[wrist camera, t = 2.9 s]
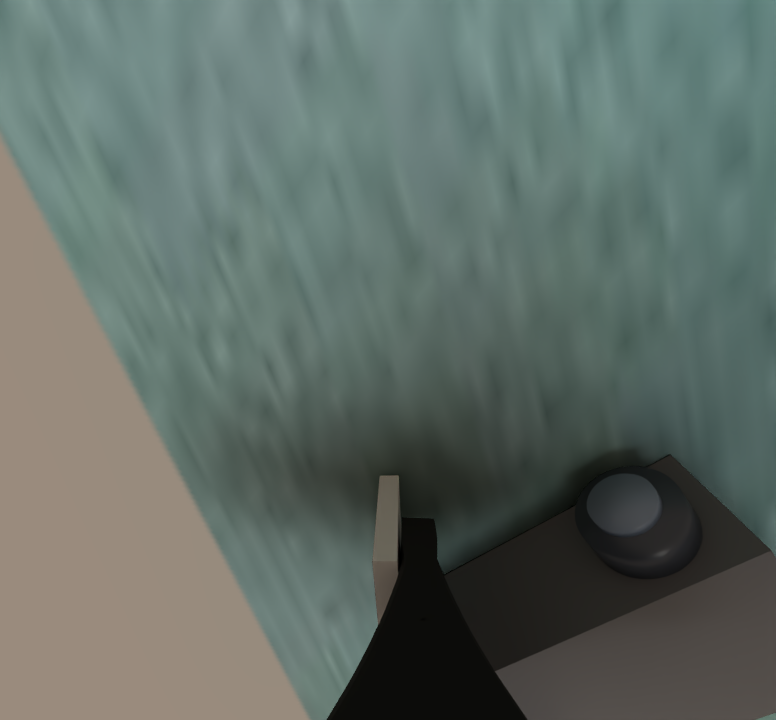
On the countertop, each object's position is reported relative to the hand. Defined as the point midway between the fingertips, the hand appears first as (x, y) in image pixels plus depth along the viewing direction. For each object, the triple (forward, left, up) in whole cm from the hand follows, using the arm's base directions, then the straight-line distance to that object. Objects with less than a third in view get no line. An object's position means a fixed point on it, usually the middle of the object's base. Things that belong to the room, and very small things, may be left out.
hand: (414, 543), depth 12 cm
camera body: (-2, +6, -2) cm, 7 cm away
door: (+1, +1, -1) cm, 2 cm away
